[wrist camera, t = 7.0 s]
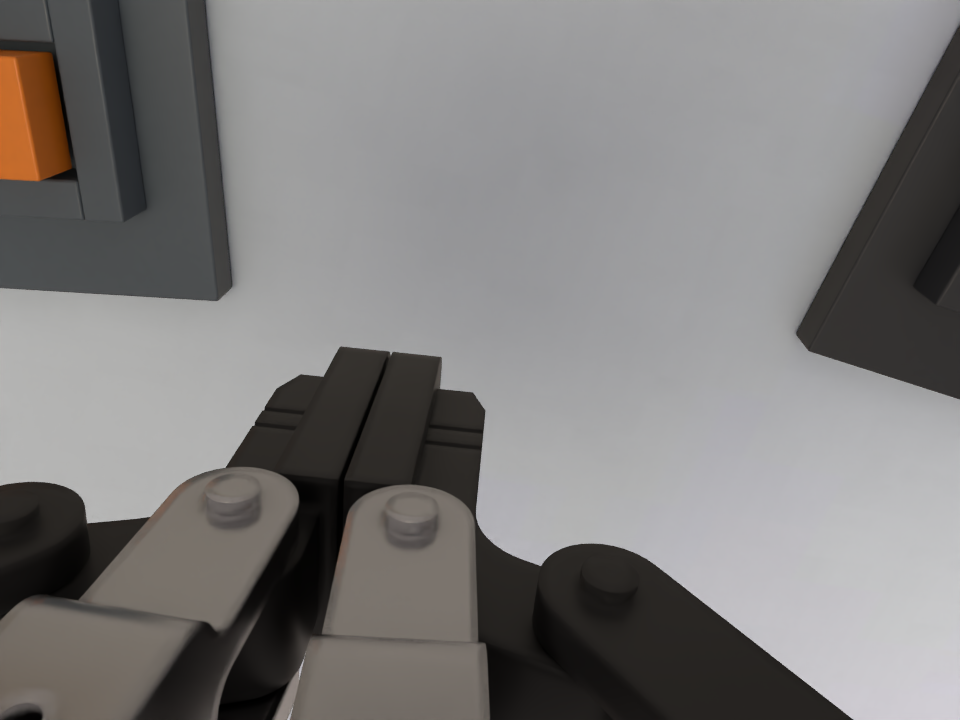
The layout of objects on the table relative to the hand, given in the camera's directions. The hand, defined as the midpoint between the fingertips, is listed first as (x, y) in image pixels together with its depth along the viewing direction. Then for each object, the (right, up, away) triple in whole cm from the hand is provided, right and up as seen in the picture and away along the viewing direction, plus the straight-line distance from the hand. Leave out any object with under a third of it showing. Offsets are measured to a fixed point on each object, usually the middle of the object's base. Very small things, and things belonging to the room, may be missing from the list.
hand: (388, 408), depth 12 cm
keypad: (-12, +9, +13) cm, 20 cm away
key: (-12, +8, +11) cm, 18 cm away
